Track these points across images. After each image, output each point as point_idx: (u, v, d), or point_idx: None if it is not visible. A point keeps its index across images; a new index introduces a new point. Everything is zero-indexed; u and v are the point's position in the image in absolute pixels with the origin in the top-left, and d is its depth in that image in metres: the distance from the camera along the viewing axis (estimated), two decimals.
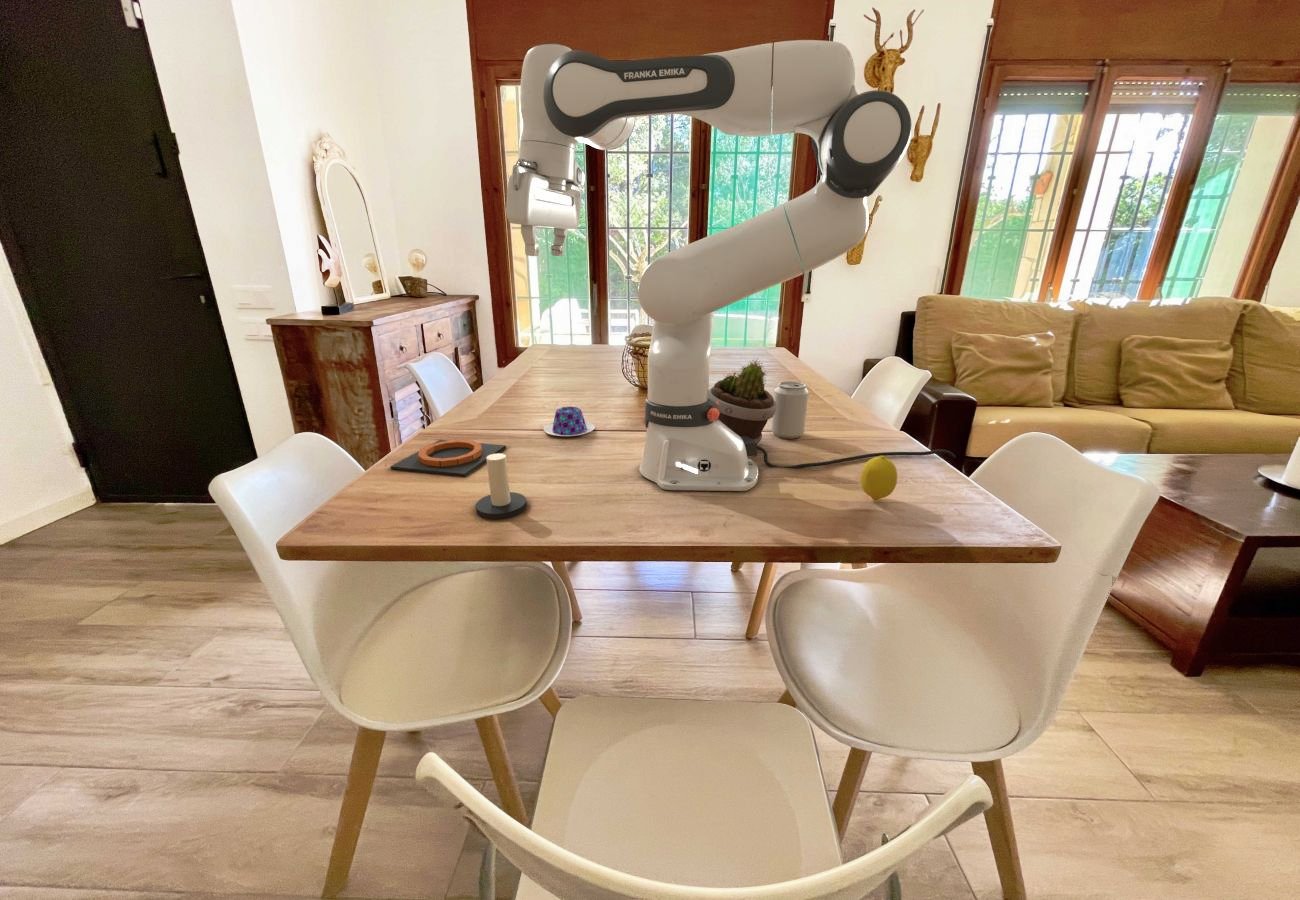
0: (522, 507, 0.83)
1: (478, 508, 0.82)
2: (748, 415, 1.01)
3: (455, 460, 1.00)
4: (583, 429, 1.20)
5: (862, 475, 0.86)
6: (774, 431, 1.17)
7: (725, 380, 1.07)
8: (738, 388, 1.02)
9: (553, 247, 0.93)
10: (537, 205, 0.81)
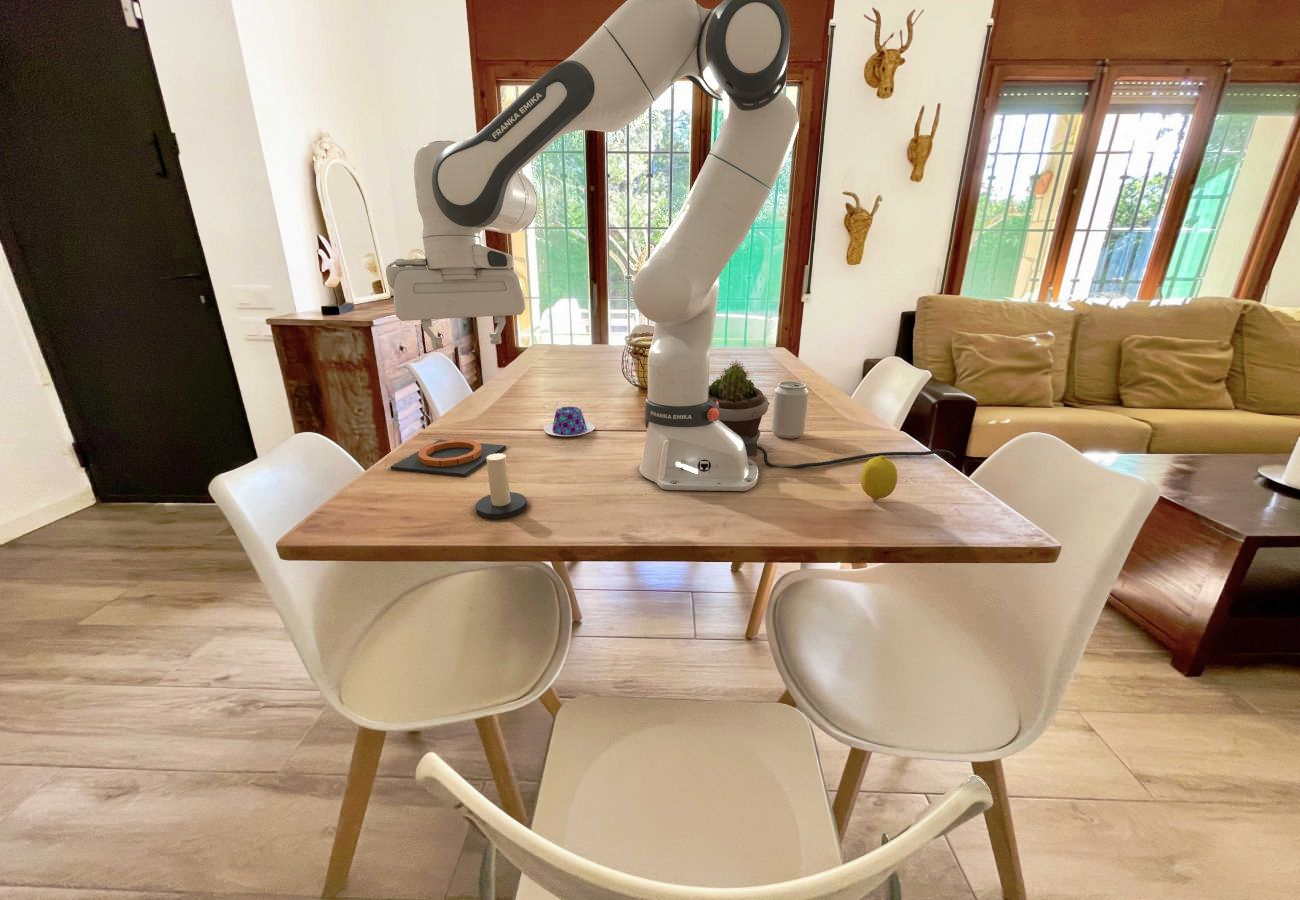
0: (522, 507, 0.83)
1: (478, 508, 0.82)
2: (736, 416, 1.01)
3: (455, 460, 1.00)
4: (583, 429, 1.20)
5: (862, 475, 0.86)
6: (774, 431, 1.17)
7: (713, 385, 1.08)
8: (723, 391, 1.03)
9: (491, 336, 0.88)
10: (419, 299, 0.80)
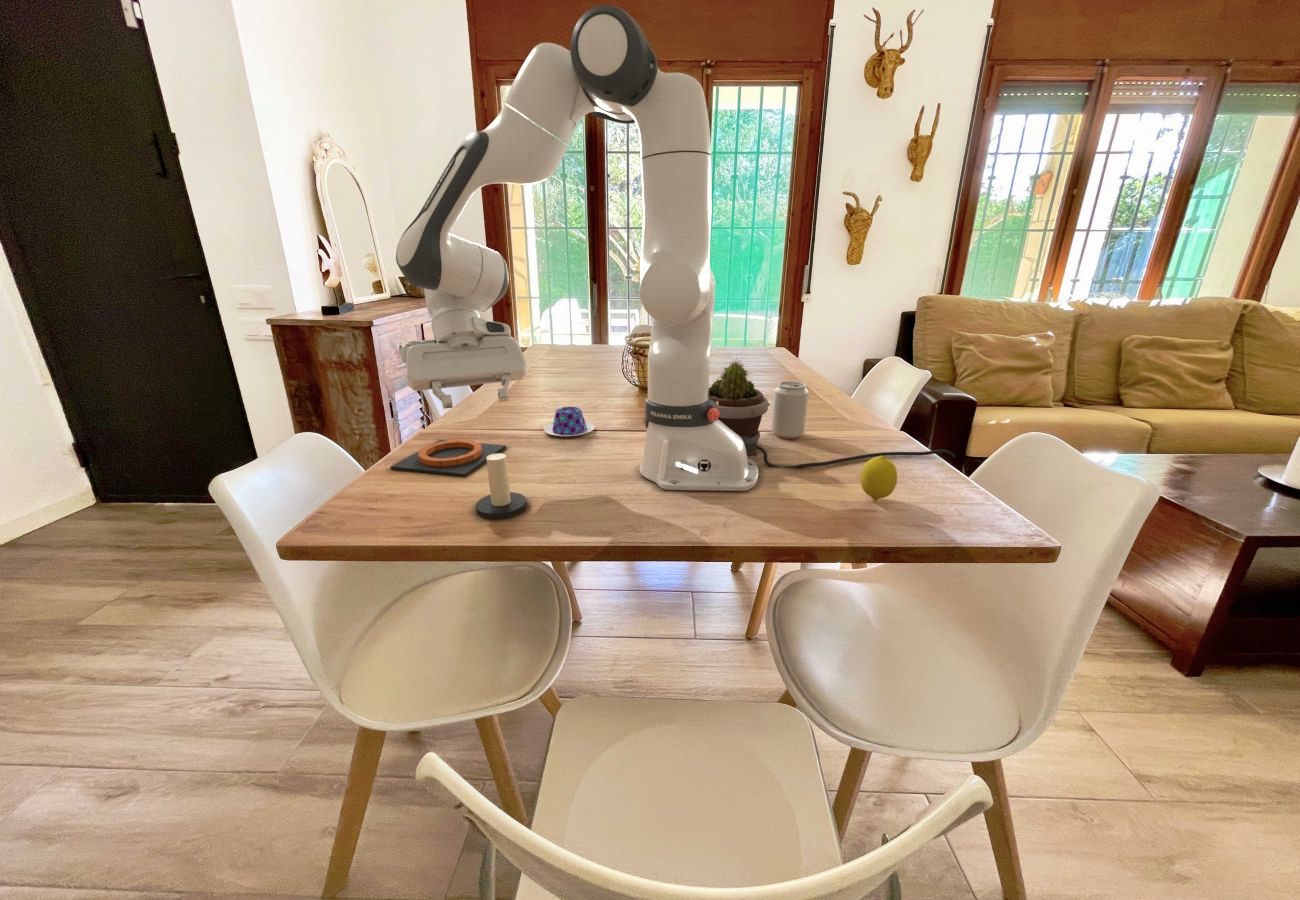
0: (522, 507, 0.83)
1: (478, 508, 0.82)
2: (735, 413, 1.02)
3: (455, 460, 1.00)
4: (583, 429, 1.20)
5: (862, 475, 0.86)
6: (774, 431, 1.17)
7: (714, 385, 1.10)
8: (723, 389, 1.04)
9: (499, 395, 0.92)
10: (427, 363, 0.88)
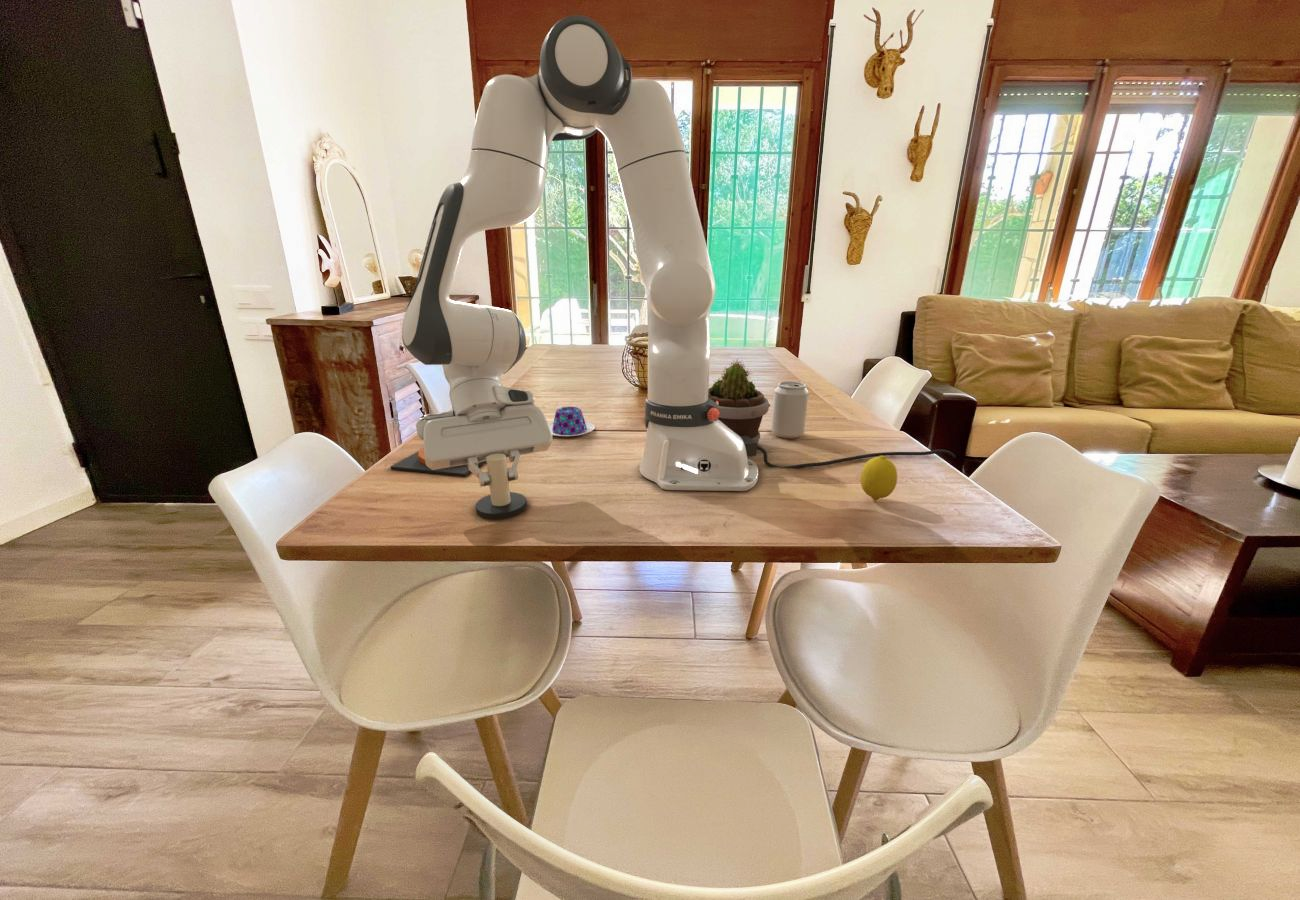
0: (522, 507, 0.83)
1: (478, 508, 0.82)
2: (736, 414, 1.02)
3: None
4: (583, 429, 1.20)
5: (862, 475, 0.86)
6: (774, 431, 1.17)
7: (715, 385, 1.10)
8: (724, 390, 1.04)
9: None
10: (446, 441, 0.80)
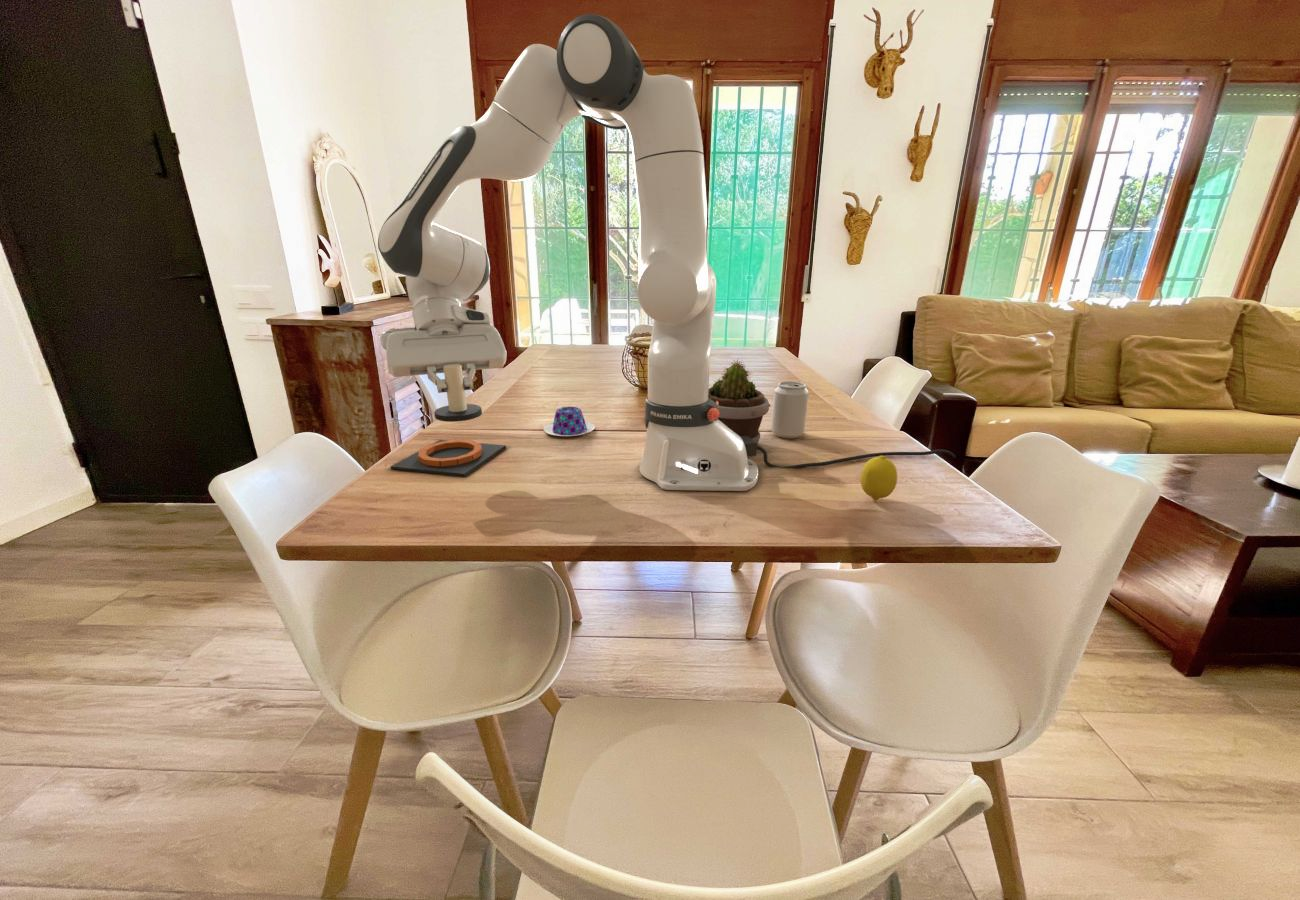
0: (476, 413, 0.92)
1: (436, 413, 0.91)
2: (736, 414, 1.02)
3: (455, 460, 1.00)
4: (583, 429, 1.20)
5: (862, 475, 0.86)
6: (774, 431, 1.17)
7: (715, 385, 1.10)
8: (724, 389, 1.04)
9: None
10: (407, 350, 0.89)
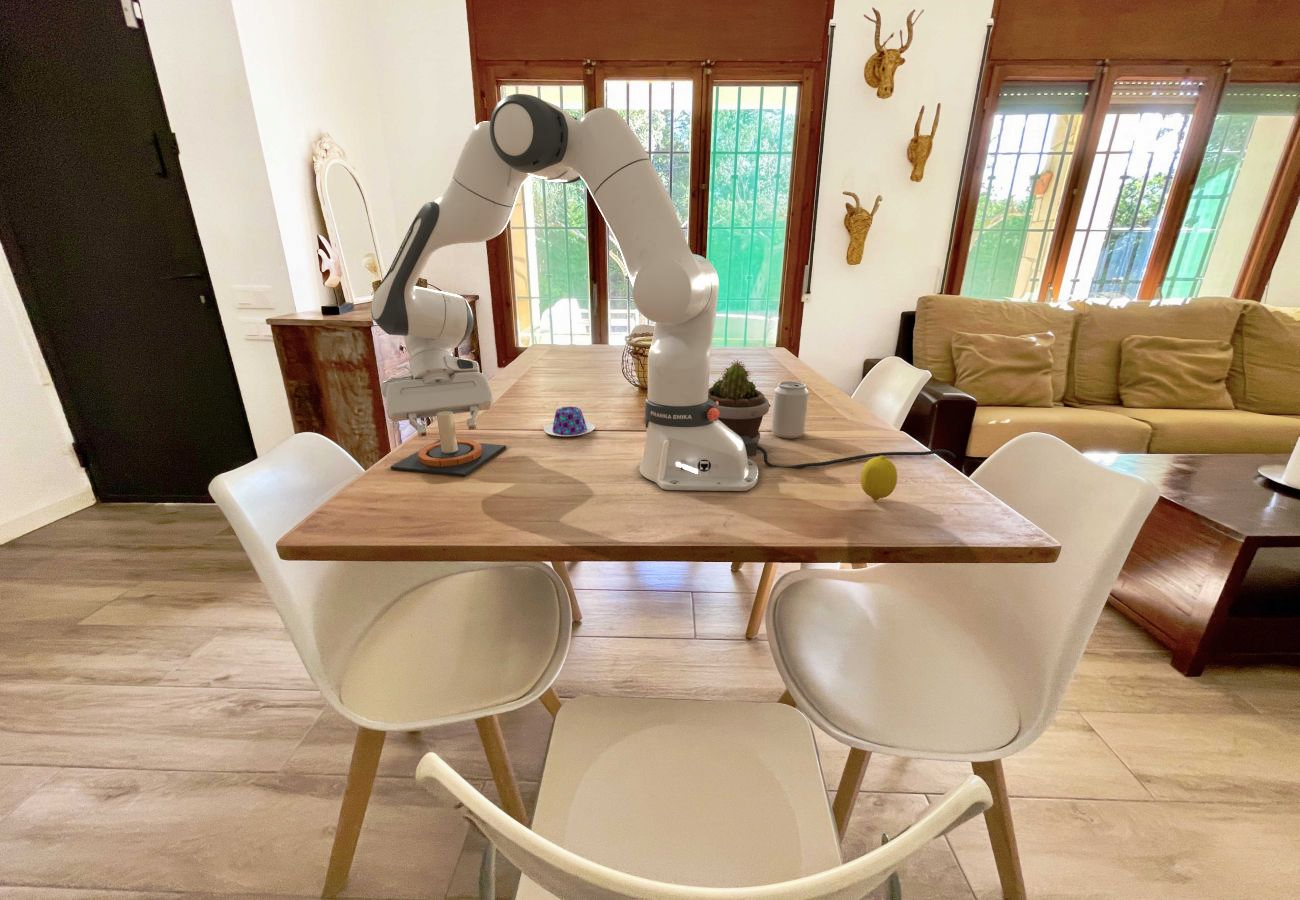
0: None
1: (430, 454, 1.03)
2: (736, 414, 1.02)
3: (455, 460, 1.00)
4: (583, 429, 1.20)
5: (862, 475, 0.86)
6: (774, 431, 1.17)
7: (715, 385, 1.10)
8: (724, 389, 1.04)
9: (468, 424, 1.05)
10: (405, 398, 1.01)
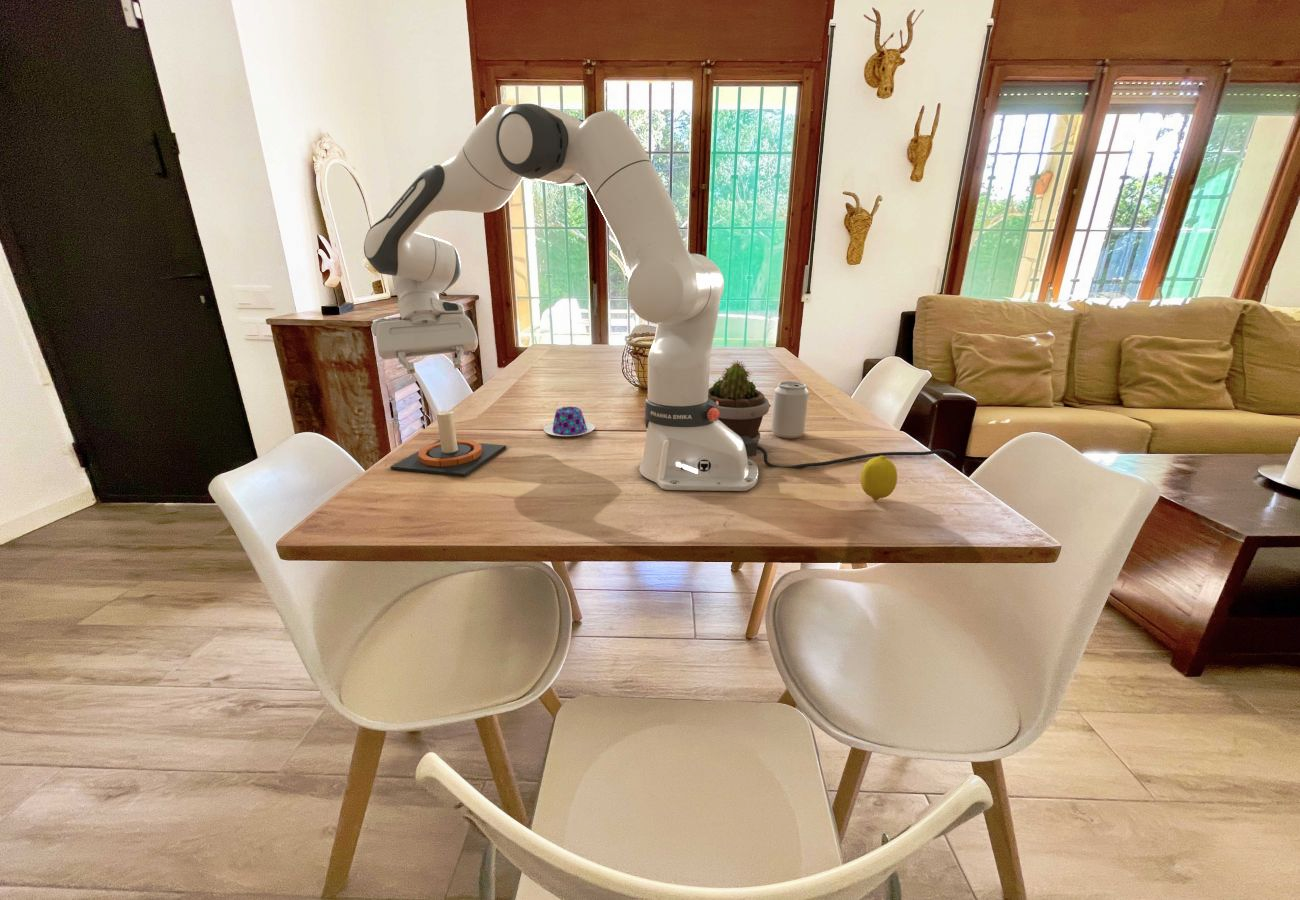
0: None
1: (430, 454, 1.03)
2: (736, 414, 1.02)
3: (455, 460, 1.00)
4: (583, 429, 1.20)
5: (862, 475, 0.86)
6: (774, 431, 1.17)
7: (715, 385, 1.10)
8: (724, 390, 1.04)
9: (454, 363, 1.12)
10: (394, 337, 1.08)
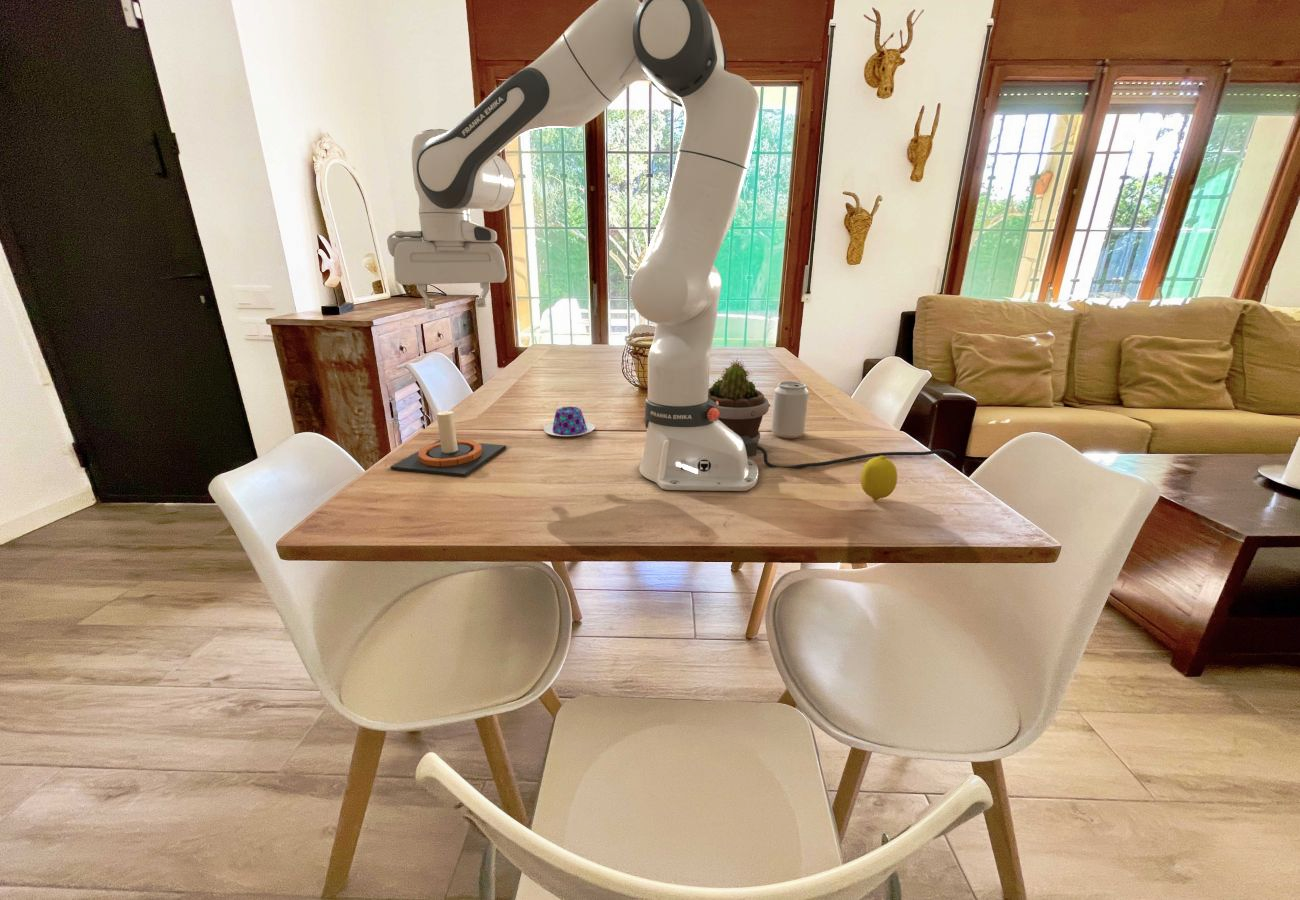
0: None
1: (430, 454, 1.03)
2: (735, 414, 1.02)
3: (455, 460, 1.00)
4: (583, 429, 1.20)
5: (862, 475, 0.86)
6: (774, 431, 1.17)
7: (715, 385, 1.10)
8: (723, 390, 1.04)
9: (477, 300, 1.03)
10: (415, 267, 0.94)
